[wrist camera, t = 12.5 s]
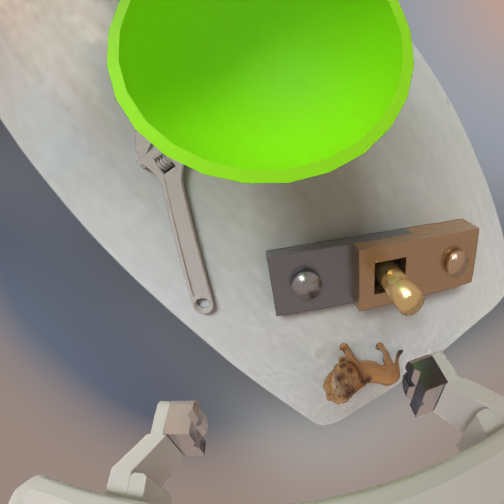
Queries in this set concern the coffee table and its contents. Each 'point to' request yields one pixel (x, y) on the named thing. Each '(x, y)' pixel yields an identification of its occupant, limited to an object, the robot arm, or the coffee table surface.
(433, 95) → the coffee table surface
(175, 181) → the adjustable wrench
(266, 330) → the coffee table surface
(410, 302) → the brass pin
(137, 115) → the wineglass
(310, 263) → the door latch
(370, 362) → the lion figurine
